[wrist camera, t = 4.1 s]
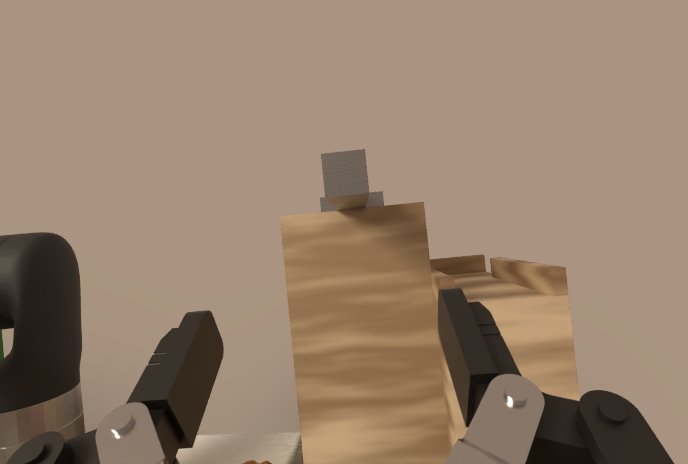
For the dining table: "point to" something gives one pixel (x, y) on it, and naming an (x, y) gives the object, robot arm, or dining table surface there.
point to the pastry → (254, 463)
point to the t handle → (347, 182)
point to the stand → (402, 333)
